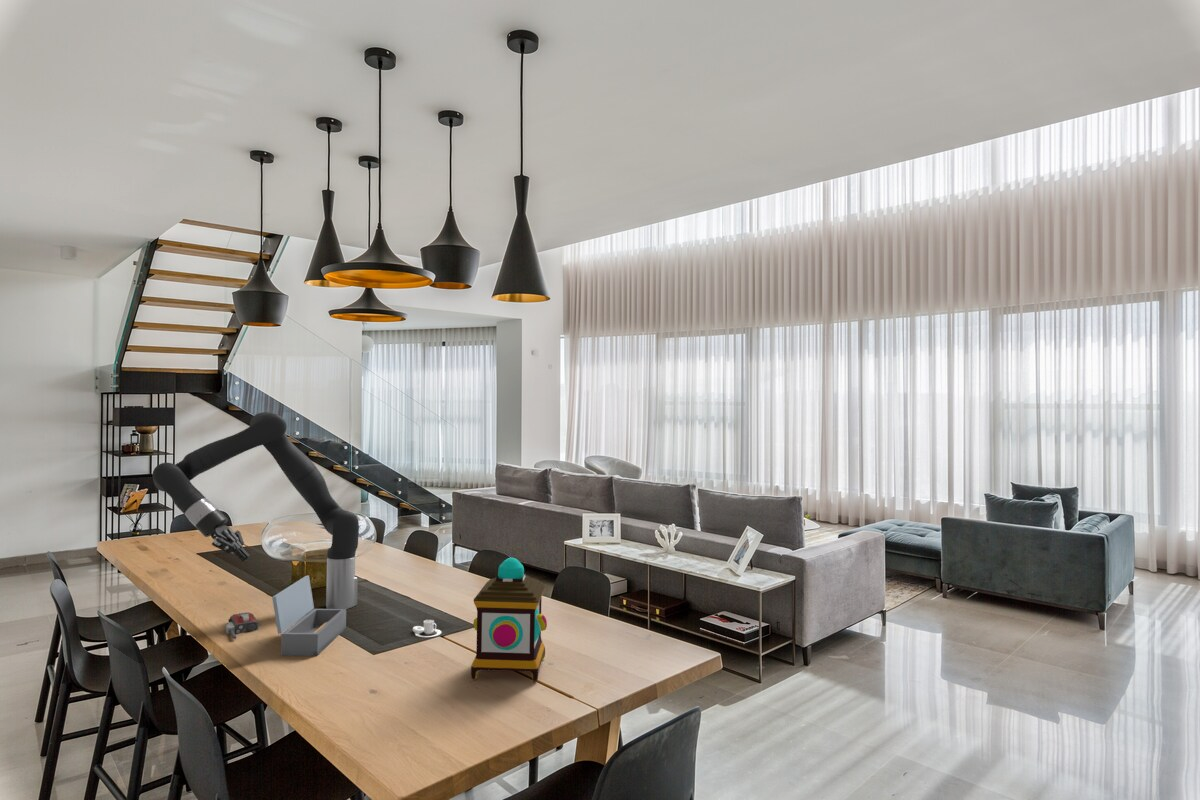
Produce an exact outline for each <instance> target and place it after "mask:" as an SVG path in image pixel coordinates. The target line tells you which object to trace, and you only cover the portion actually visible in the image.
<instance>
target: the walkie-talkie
mask: <svg viewBox="0 0 1200 800" xmlns="http://www.w3.org/2000/svg"><path fill="white" fill-rule="evenodd" d="M258 629H259V621H258V620H257V619H256V617H255V616H254V614H253V613H251V612H239V613H236V614H235V613H234V614H232V615H230V617H229V618H228V623H225V633H226V635H230V636H231V638H232V639H233V640H236V639H237V635H236V634H240V633H248V632H253V631H258Z"/></svg>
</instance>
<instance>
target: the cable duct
mask: <svg viewBox="0 0 1200 800" xmlns="http://www.w3.org/2000/svg"><path fill="white" fill-rule="evenodd" d="M346 628H347V609H327V608H314V609H312V610H311V611H310V612H308V613H307V614H306V615H305V616H303V617H302V618H301V619H299V620H298V621H297V622H296V623H294V624H293V625H292V626H290V627H289V628H288V629H287V630H285V631H284V632H283V633H281V639H280V640H281V642H280V643H281V645H280V647H281V649H280V650H281V651H280V656H284V657H285V656H286V657H288V656H292V657H293V656H296V657H299V656H301V657H306V656H307V657H308V656H309V657H312V656H313V657H315V656H316V657H317V656H320V654H321V653H322V652H324V650H325V649H326V648H327V647H328V646H329V645H330V644H331V643H332V642H333V641H335V639H337V637H339V635H341V634H342V633H343V632H344V631H345V630H346Z"/></svg>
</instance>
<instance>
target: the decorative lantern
mask: <svg viewBox="0 0 1200 800" xmlns="http://www.w3.org/2000/svg"><path fill="white" fill-rule="evenodd" d="M497 571H498V572H497V576H496V577H495V578H489V580H488V581H487V582H486V583H485V584H484V585H483V586H482V588H481V589H480V590H479V592H478V593H477V594H476V596H475V597H474V598H473V604H474V606H475V608H476V617H475V618H474V619H473V628H474V630H475V631H476V650H475V651H476V655H475V657H474V659H473V661H472V664H471V667H470V676H471V677H470V679H472V680H473V681H475V680H477V678H478V674H479V673H478V672H479V671H493V672H494V671H498V672H500V671H501V672H502V671H503V672H528V673H530V674H531V676H532V681H534V683H535V682H537V681H538V678H539V669H540V666H541V663H542V659H543V660H544V659H545V657H546V656H545V655H546V646H545V644H544V642H543V640H542V632H543V631H545V630H547V626H548V624H547V622H548V621H547V618H546V616H545V615H544V614H542V598H543V594H544V592H545V590H546V585H545V584H544V583H543V582H542V581H540V580H539V579H533V578H532V577H530V576H529V575H527V574H526V572H525V568H524V565H523V564H522V563H521V562H520V561H519V560H518V559H517V558H514V557H508V558H506V559H505V560H503V561H502V563H500V564H499V567H498V570H497Z"/></svg>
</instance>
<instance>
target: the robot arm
mask: <svg viewBox="0 0 1200 800" xmlns="http://www.w3.org/2000/svg"><path fill="white" fill-rule="evenodd" d="M287 428H288V427H287V422H286V420H285V418H284V417H283V416H281V415H280V414H276V413H275V412H274V413H273V412H268V411H267V412H259V413H256V414H254V415H253V416H252V418H251V420H250V422H249V427H247V428H245V429H243V430H241V431H239V432H237V433H235V434H231V435H230V436H226V437H224V438H221V439H218V440H216V441H213V442H210V443H207V444H205V445H203V446H201V447H199V448H198V449H195V450H193V451H190V452H189V453H187V454H186V455H185V456H184V457H183V459H182V460H180V461H179V462H177V463H176V464H174V463H172V462H161V463H159V464H158V465H156V467H154V468H153V471H152V480H153V484H154V486H155V487H156V488H155V489H157V490H159V491H161V492H163V493H166V494H167V495H168V496H169V497H170V498H171V499H172V502H173V504H175V506H176V507H177V508H178V509H179V510H180V511H181V513H183V514H184V515H185V516H186V518H187V520H188V521H189V522H190V523H191V525H193V526H194V527H195V528H196V529H197V530H198V531H199V532H200V533H201V534H202V536H204V537H205V538H209V537H210V538H211V539H212V540H213V542H212V543H211V545H212V546H213V547H215V548H217V549H219V550H221V551H223V552H225V553H226V554H230V553H231V554H233V555H235V556H236V557H237V558H238V559H239V560H240V561H241V562H242V563H244V562H246V561H248V560H249V559H250V558H251V555H250V553H248V552H247V551H246V550H245V548H243V547H244V545H245V542H244V540H243V536H242V533H241V532H240V530H236V531H234V530H233V529H232V528H231V527H230V526H228V525H227V523H228V521H229V520H228V518H227V516H225V514H223V512H221V510H219V508H218V507H217V506H216V505H214V503H213V502H212V501H210V500H209V499H208V498H207V497H206V496H205V495H204V494H203V493H202V492H201V491H200V490H198V489H197V488H196V487H195V486H194V484H192V482H191V480H194V478H196V477H197V476H199V475H200V474H203V473H205V472H207V471H209V470H212V469H213V468H215V467H216V466H219V465H221V464H222V463H225V462H227V461H228V460H230V459H232V458H234V457H237V456H238V455H241V454H243V453H245V452H247V451H249V450H252V449H255V448H257V447H260V446H263V447H264V449H266V450H267V451H268V452H269V453H270V455H271V456H272V458H273V459H274V460H275V462H276V463H277V465H278V467H279V468H280V469H281V471H282V472H283V474H284V475H285V476H286V478H287V480H288V481H289V482H290V484H291V485H292V486H293V487H294V489H295V490H296V491H297V492H298V494H300V496H301V497H302V498H303V499H304V500H305V502H306V503H307V504H308V505H309V506H310V507H311V508H312V510H313V511H314V513H315V514H316V516H317V518H318V519H319V521H320V522H321V525H322V526H323V527H324V529H325V531H327V533H328V534H329V535H331V536H332V538H331V546H330V547H329V548H328V549H327V551H326V588H325V589H326V592H325V594H326V595H325V597H326V598H325V599H326V601H325V609H346V610H348V609H351V608H353V607H355V606H358V577H356V553H357V552H356V551H357V549H358V546H359V533H360V523H359V522H360V521H359V518H358V517H357V515H356V514H355V513H354V512H351V511H349V510H345V509H343V508H342V507H341V506H340V505H339V504H338V503H337V502H336V500H335V499H334V498H333V496H332V495H331V494H330V491H329V488H328V486H327V483H326V481H325V477H324V476H323V475H322V473H321V472H320V470H319V468H318V467H317V466H316V465H315V463H314V462H313V461H312V460H311V459H310V458H309V457H308V456H307V455H306V454H305V453H304V452H303V451H302V450H300V449H299V448H298V447H297V446H296V444H294V443H293V442H292V441H291V440H290V439H289V436H287V434H286V432H287Z"/></svg>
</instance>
